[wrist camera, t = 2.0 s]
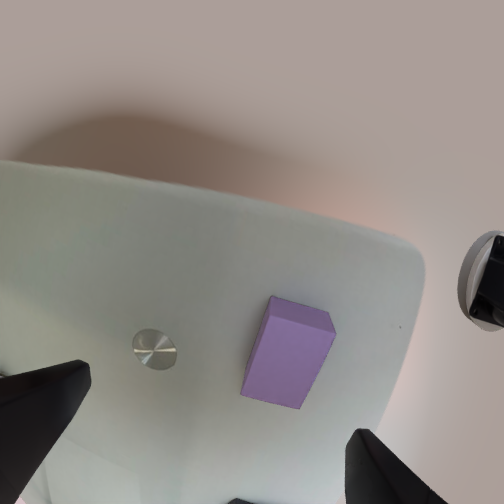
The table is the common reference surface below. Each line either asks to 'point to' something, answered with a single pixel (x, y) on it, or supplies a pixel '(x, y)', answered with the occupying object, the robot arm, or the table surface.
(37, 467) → the robot arm
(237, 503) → the button base
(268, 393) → the soap bar
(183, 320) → the table surface
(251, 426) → the table surface
